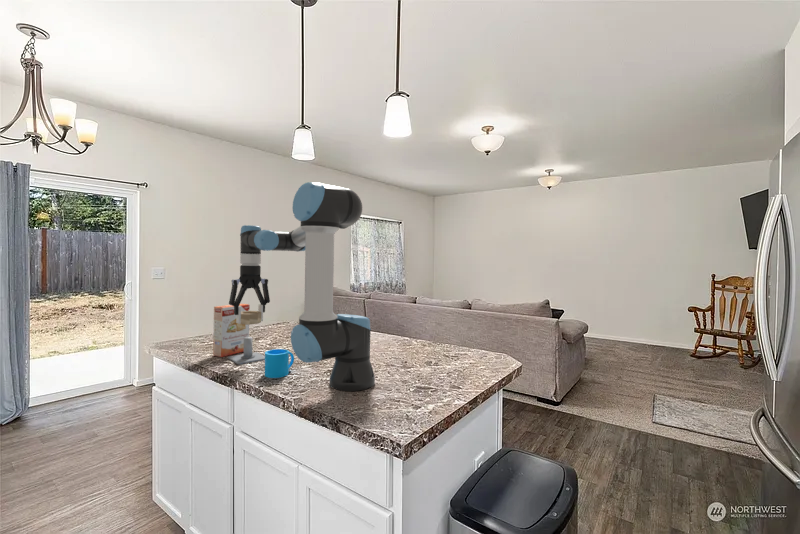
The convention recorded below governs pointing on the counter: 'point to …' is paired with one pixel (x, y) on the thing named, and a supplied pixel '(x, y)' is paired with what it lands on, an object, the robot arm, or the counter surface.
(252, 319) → the ring
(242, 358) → the post plate
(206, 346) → the counter surface
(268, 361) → the mug
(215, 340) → the cracker box
